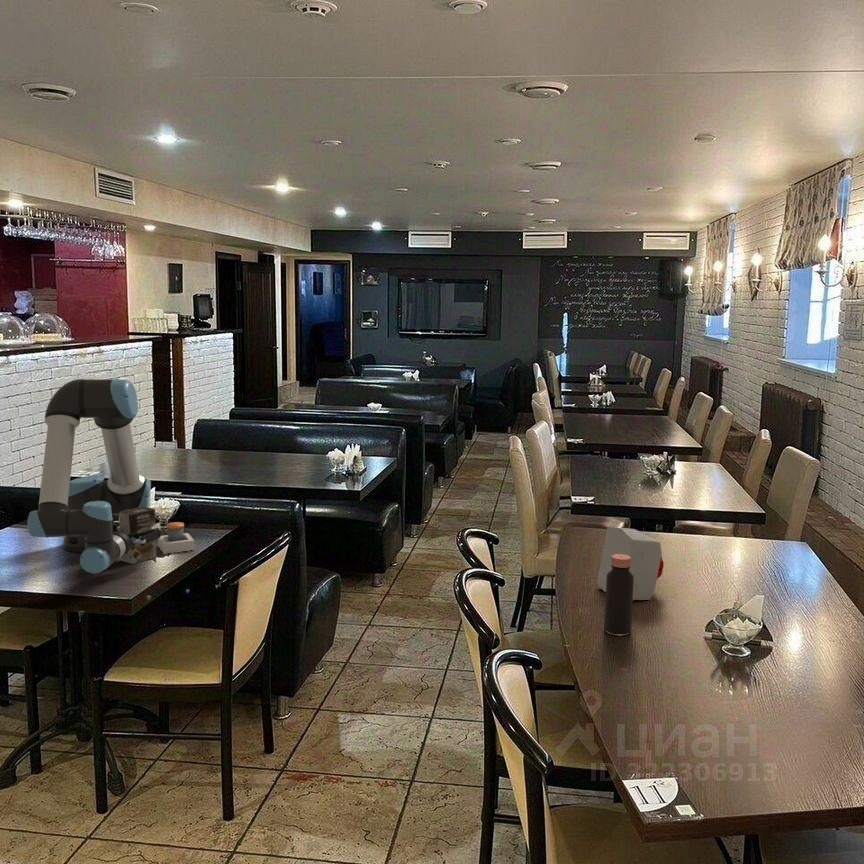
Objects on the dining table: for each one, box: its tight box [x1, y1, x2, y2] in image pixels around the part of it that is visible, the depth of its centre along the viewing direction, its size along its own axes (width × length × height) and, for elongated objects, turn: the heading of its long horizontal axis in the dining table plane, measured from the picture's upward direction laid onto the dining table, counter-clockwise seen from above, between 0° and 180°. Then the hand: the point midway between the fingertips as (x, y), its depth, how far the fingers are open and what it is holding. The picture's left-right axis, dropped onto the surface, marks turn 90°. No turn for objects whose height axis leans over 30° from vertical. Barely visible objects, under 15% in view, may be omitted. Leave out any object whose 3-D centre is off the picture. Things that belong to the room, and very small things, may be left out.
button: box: [166, 521, 185, 542], centre depth 285 cm, size 6×6×5 cm
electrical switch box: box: [596, 526, 664, 601], centre depth 249 cm, size 15×15×20 cm
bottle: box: [603, 554, 634, 634], centre depth 219 cm, size 7×7×20 cm
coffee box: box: [118, 507, 157, 565], centre depth 273 cm, size 9×6×16 cm
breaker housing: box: [157, 532, 195, 555], centre depth 286 cm, size 10×10×4 cm
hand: (142, 526), depth 277 cm, fingers closed on coffee box, 10 cm apart
